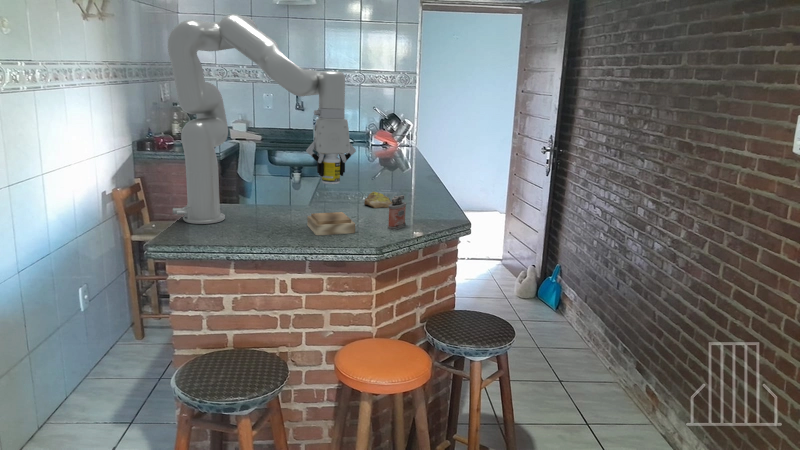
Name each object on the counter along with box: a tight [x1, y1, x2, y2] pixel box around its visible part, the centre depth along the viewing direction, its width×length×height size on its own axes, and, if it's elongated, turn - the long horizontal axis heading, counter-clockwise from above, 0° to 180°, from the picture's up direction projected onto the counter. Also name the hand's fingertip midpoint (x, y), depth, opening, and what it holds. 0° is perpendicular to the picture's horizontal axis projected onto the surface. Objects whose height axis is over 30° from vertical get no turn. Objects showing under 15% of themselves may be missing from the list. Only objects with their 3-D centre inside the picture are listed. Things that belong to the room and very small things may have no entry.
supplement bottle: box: [321, 154, 341, 185], centre depth 179 cm, size 5×5×10 cm
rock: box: [363, 191, 392, 209], centre depth 218 cm, size 12×7×10 cm
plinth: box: [306, 211, 356, 236], centre depth 183 cm, size 12×12×4 cm
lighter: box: [387, 194, 407, 231], centre depth 188 cm, size 8×3×10 cm, turn 148°
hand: (331, 174), depth 179 cm, fingers closed on supplement bottle, 5 cm apart
